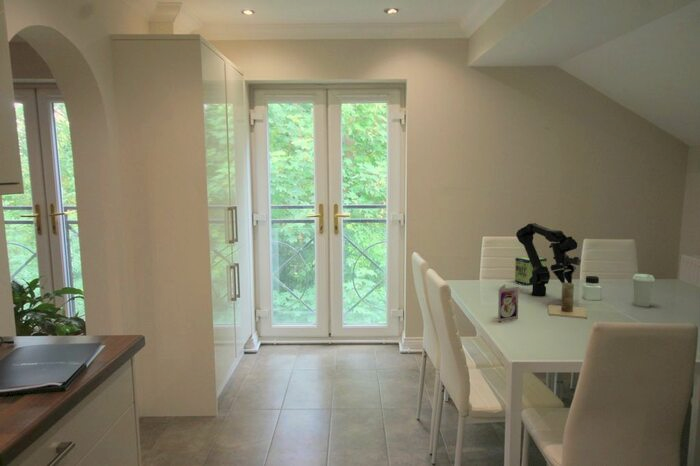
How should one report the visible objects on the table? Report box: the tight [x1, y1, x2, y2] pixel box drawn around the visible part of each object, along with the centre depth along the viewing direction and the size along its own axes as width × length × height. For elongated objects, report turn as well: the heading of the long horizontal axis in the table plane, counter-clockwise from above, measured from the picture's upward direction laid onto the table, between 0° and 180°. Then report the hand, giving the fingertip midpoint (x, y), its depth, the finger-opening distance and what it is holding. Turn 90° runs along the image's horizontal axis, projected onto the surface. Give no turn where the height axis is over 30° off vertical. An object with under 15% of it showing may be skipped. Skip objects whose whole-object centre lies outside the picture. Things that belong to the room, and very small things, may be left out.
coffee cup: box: [631, 273, 656, 308], centre depth 230 cm, size 10×10×15 cm
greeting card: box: [497, 284, 520, 323], centre depth 211 cm, size 11×7×15 cm, turn 114°
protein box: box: [514, 256, 548, 286], centre depth 283 cm, size 10×16×16 cm
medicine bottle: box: [582, 275, 602, 301], centre depth 244 cm, size 7×7×12 cm
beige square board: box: [548, 304, 588, 319], centre depth 220 cm, size 16×16×1 cm
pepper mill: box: [560, 282, 575, 312], centre depth 220 cm, size 5×5×13 cm
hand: (567, 284), depth 233 cm, fingers open, 9 cm apart
